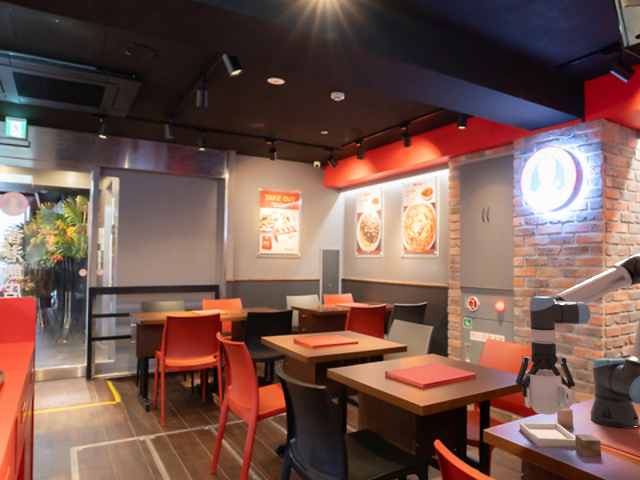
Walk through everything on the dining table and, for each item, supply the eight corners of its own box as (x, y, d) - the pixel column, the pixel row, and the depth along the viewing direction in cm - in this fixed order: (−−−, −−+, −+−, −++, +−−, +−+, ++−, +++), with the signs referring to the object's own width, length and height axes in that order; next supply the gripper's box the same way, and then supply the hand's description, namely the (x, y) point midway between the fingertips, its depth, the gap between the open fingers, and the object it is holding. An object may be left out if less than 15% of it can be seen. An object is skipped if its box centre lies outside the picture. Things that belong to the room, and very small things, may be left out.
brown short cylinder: (569, 423, 164) (568, 407, 164) (576, 428, 159) (575, 411, 159) (555, 423, 164) (554, 407, 165) (561, 428, 159) (560, 411, 160)
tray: (557, 430, 157) (557, 423, 158) (579, 447, 142) (579, 440, 142) (519, 429, 159) (519, 422, 159) (537, 446, 143) (536, 439, 143)
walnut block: (592, 451, 139) (591, 434, 140) (601, 457, 134) (600, 440, 135) (576, 450, 140) (575, 434, 140) (583, 457, 135) (583, 440, 135)
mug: (581, 415, 147) (579, 375, 148) (564, 422, 141) (561, 380, 142) (538, 405, 159) (536, 368, 160) (520, 410, 153) (518, 372, 154)
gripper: (574, 340, 155) (577, 404, 153) (504, 339, 157) (506, 403, 156) (584, 343, 148) (588, 411, 146) (511, 343, 150) (513, 409, 148)
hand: (546, 407), depth 151 cm, fingers closed on mug, 11 cm apart
